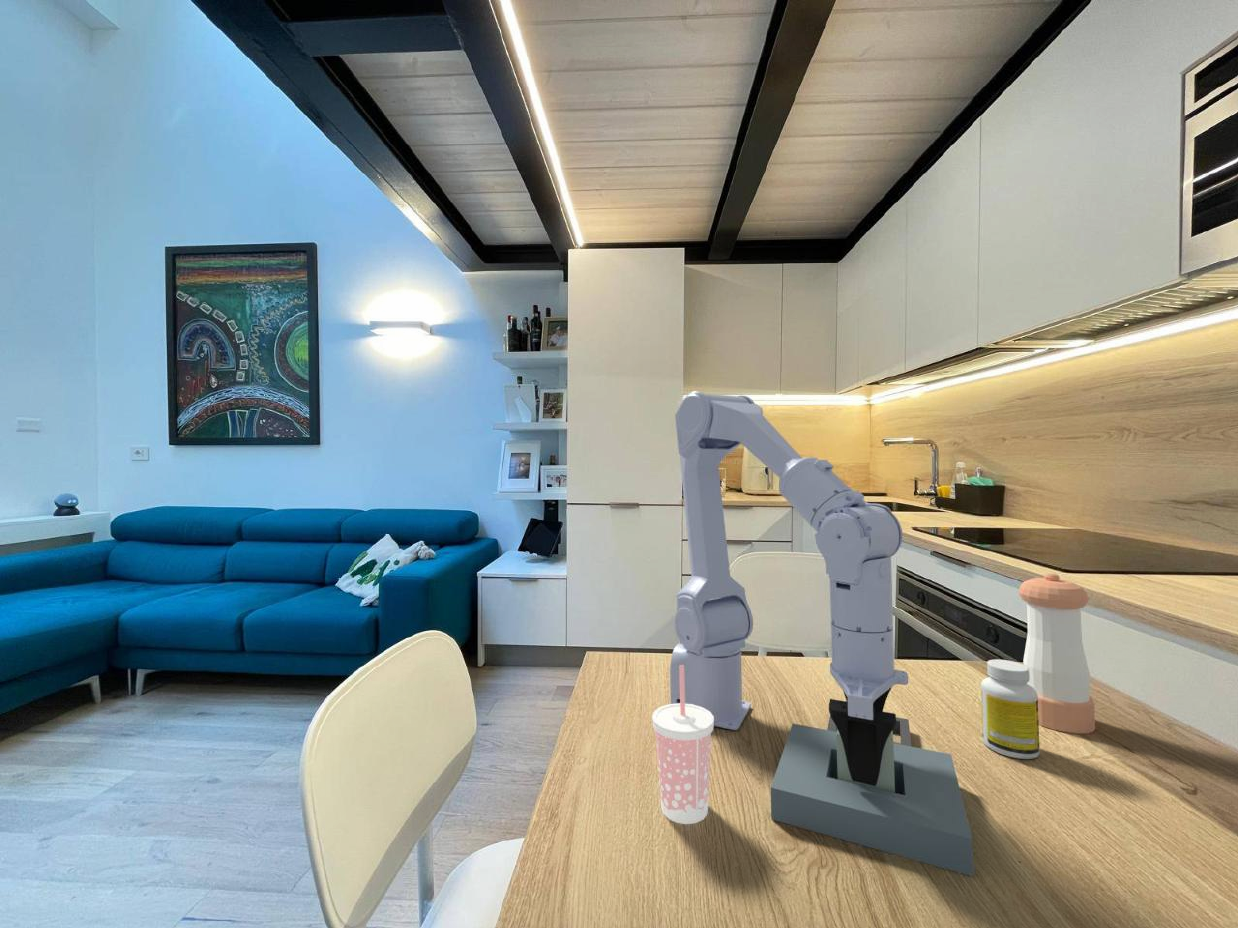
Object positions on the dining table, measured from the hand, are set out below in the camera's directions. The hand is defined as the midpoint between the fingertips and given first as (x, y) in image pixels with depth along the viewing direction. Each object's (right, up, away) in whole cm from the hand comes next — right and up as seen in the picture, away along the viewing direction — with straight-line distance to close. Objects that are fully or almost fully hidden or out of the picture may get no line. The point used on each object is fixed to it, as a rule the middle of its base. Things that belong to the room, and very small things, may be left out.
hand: (865, 760), depth 51 cm
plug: (0, -4, 0) cm, 4 cm away
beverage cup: (-18, -4, -1) cm, 19 cm away
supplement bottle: (+22, -4, +9) cm, 24 cm away
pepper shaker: (+33, -4, +16) cm, 37 cm away
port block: (0, -4, 0) cm, 4 cm away
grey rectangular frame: (+6, -4, +12) cm, 14 cm away
